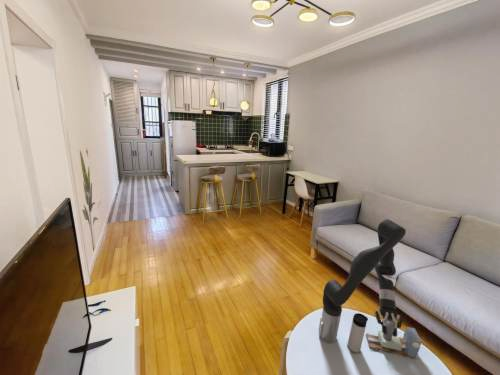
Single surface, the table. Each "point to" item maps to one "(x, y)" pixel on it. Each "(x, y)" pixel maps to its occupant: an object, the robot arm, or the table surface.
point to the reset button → (402, 340)
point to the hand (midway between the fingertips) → (389, 335)
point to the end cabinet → (411, 341)
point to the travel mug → (357, 332)
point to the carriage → (390, 337)
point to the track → (375, 344)
